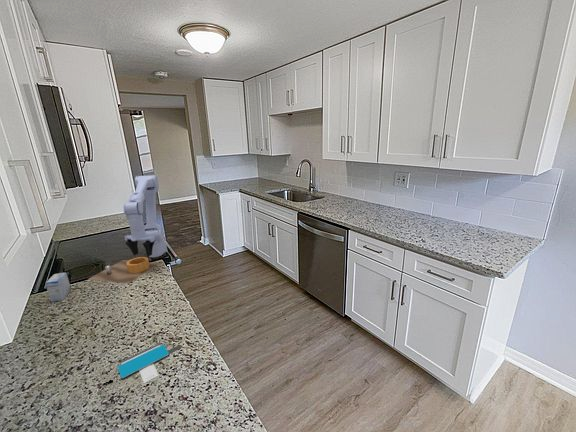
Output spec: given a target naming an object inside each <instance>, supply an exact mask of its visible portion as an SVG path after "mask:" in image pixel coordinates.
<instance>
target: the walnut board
mask: <svg viewBox="0 0 576 432" xmlns="http://www.w3.org/2000/svg"><path fill="white" fill-rule="evenodd" d="M129 260H130V259H129ZM129 260H127V259H126V260H125V259H122V260H120V261H119V262H116V263H114V264H113V265H110V267H111V271H112V274H111V275H107V272H106V268H105V269H103V270H102V271H100V272H98V273H96V274H95V275H92V276H91V277H89V278H87V280H89V281H100V282H108V283H109V282H111V283H119V284H130V283H132V282H133V281H135V280H136V279H138V278H139V277H141V276H142V275H143V274H145V273H147V272H148V271H150V270H151V269H153V268H154V267H156V266H158V265H159V264H160V262H152V261H151V262H150V261H149V265H150V266H149V268H148V269H147V270H145V271H142V272H139V273H129V272H128V269H127V265H126V263H127V262H128V261H129Z"/></svg>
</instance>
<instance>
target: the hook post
mask: <svg viewBox="0 0 576 432" xmlns="http://www.w3.org/2000/svg"><path fill="white" fill-rule="evenodd" d="M104 268H105V269H106V272H107V275H111V274H112V271H111V265H110V264H108V265H105V266H104Z"/></svg>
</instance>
